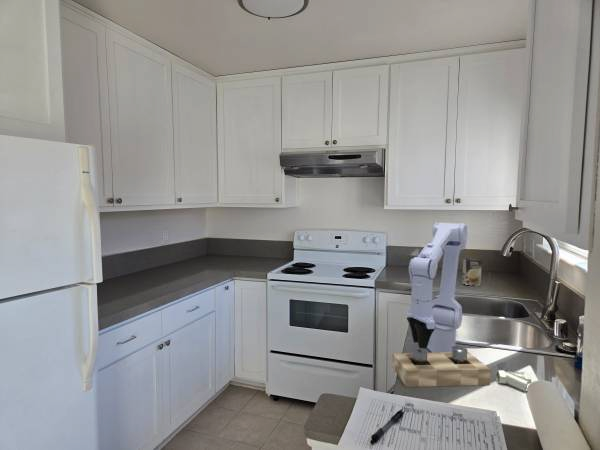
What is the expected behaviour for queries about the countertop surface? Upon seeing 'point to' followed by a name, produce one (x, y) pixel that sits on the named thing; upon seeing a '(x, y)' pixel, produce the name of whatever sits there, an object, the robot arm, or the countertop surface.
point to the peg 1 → (419, 356)
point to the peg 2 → (459, 355)
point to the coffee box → (471, 271)
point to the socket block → (440, 370)
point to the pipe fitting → (514, 379)
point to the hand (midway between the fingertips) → (420, 344)
